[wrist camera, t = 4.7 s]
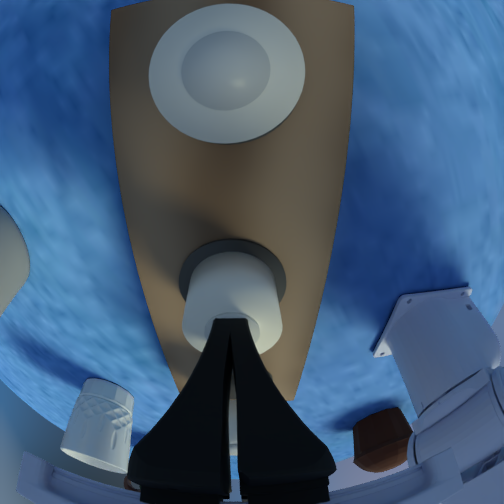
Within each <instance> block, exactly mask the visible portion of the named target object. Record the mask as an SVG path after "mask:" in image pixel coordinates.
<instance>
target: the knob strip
mask: <svg viewBox="0 0 504 504" xmlns="http://www.w3.org/2000/svg"><path fill="white" fill-rule="evenodd" d="M217 4H242V5H248V6H251V7H255V8H258V9H261V10H263V11H265V12H267V13H269V14H271V15H273V16H274V17H276V18H277V19H278V20H280V21H281V22H282V23H283V24H284V25H285V26H286V27H287V28H288V29H289V30H290V31H291V32H292V34H293V35H294V36H295V38H296V40H297V42H298V43H299V45H300V48H301V51H302V53H303V57H304V62H305V80H304V85H303V89H302V93H301V95H300V97H299V100H298V102H297V103H296V105H295V107H294V108H293V110H292V111H291V112H290V114H289V115H288V116H287V117H286V118H285V119H284V120H283V121H282V122H281V123H280V124H278V125H277V126H276V127H275V128H273V129H272V130H270V131H268V132H267V133H265V134H263V135H261V136H258V137H256V138H253V139H250V140H247V141H243V142H237V143H227V144H224V143H211V142H205V141H202V140H198V139H195V138H193V137H190V136H188V135H186V134H184V133H182V132H181V131H179V130H178V129H176V128H175V127H174V126H172V125H171V124H170V123H169V122H168V121H167V120H166V119H165V118H164V117H163V115H162V114H161V113H160V111H159V110H158V108H157V106H156V104H155V102H154V100H153V97H152V95H151V91H150V86H149V66H150V61H151V58H152V55H153V52H154V49H155V48H156V46H157V44H158V42H159V40H160V39H161V37H162V36H163V35H164V33H165V32H166V31H167V30H168V29H169V28H170V27H171V26H172V25H173V24H174V23H176V22H177V21H178V20H179V19H181V18H182V17H184V16H186V15H187V14H189V13H191V12H193V11H195V10H198V9H201V8H204V7H207V6H212V5H217ZM353 75H354V6H353V5H349V4H344V3H340V2H335V1H331V0H150V1H145V2H141V3H136V4H132V5H128V6H124V7H121V8H117V9H114V10H111V22H110V42H109V84H110V106H111V120H112V131H113V141H114V150H115V158H116V166H117V173H118V179H119V186H120V192H121V197H122V203H123V208H124V213H125V218H126V223H127V228H128V233H129V237H130V242H131V246H132V250H133V254H134V258H135V262H136V266H137V270H138V274H139V278H140V281H141V285H142V288H143V292H144V295H145V299H146V302H147V305H148V308H149V312H150V315H151V318H152V321H153V324H154V327H155V330H156V333H157V336H158V339H159V342H160V344H161V347H162V350H163V353H164V355H165V358H166V361H167V363H168V366H169V369H170V371H171V374H172V376H173V379H174V381H175V384H176V386H177V388H178V391H179V393H180V392H181V391H182V389H183V387H184V386H185V384H186V382H187V381H188V379H189V377H190V376H191V374H192V372H193V370H194V368H195V366H196V364H197V362H198V360H199V358H200V356H201V354H202V352H200V351H199V350H197V349H196V348H194V347H193V346H192V345H191V344H190V343H189V342H188V341H187V339H186V338H185V336H184V334H183V330H182V321H183V315H184V310H185V304H186V299H187V294H188V289H189V284H190V279H191V276H192V273H193V271H194V269H195V268H196V267H197V266H198V264H199V263H201V262H202V261H203V260H205V259H206V258H208V257H210V256H212V255H215V254H218V253H223V252H241V253H246V254H249V255H252V256H254V257H256V258H258V259H260V260H261V261H263V262H264V263H265V264H266V265H267V266H268V267H269V269H270V270H271V272H272V274H273V276H274V280H275V285H276V291H277V297H278V302H279V308H280V314H281V320H282V333H281V336H280V338H279V340H278V341H277V342H276V343H275V345H274V346H272V347H271V348H270V349H269V350H267V351H265V352H263V353H262V354H259V355H260V357H261V360H262V362H263V364H264V366H265V368H266V369H267V371H268V373H269V375H270V377H271V378H272V380H273V382H274V384H275V385H276V387H277V388H278V390H279V391H280V393H281V394H282V396H283V397H284V399H285V400H286V401H290V400H294V397H295V394H296V391H297V388H298V385H299V381H300V378H301V375H302V371H303V368H304V365H305V361H306V358H307V354H308V350H309V347H310V343H311V339H312V336H313V332H314V328H315V324H316V320H317V316H318V312H319V308H320V304H321V299H322V295H323V291H324V286H325V282H326V277H327V273H328V268H329V263H330V258H331V253H332V248H333V243H334V237H335V232H336V226H337V220H338V214H339V208H340V202H341V195H342V189H343V182H344V174H345V167H346V159H347V150H348V141H349V131H350V120H351V108H352V94H353ZM230 400H236V392H235V384H234V375H233V368H232V380H231V392H230Z"/></svg>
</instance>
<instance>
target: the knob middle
mask: <svg viewBox="0 0 504 504" xmlns="http://www.w3.org/2000/svg"><path fill="white" fill-rule="evenodd" d="M215 318H246V319H247V320H248V324H249V328H250V332H251V335H252V338H253V341H254V343H255V346H256V348H257V351H258V353H259V354H262V353H263V352H265V351H267V350H269V349H270V348H271V347H272V346H274V345H275V343H276V342H277V341H278V340H279V338H280V336H281V333H282V320H281V314H280V308H279V302H278V297H277V291H276V285H275V280H274V276H273V274H272V272H271V270H270V269H269V267H268V266H267V265H266V264H265V263H264V262H263V261H261V260H260V259H258V258H256V257H254V256H252V255H249V254H246V253H241V252H223V253H218V254H215V255H212V256H210V257H208V258H206V259H205V260H203V261H202V262H201V263H199V264H198V266H197V267H196V268H195V269H194V271H193V273H192V276H191V279H190V284H189V289H188V294H187V299H186V304H185V310H184V315H183V321H182V330H183V334H184V336H185V338H186V339H187V341H188V342H189V343H190V344H191V345H192V346H193V347H194V348H196V349H197V350H199V351H200V352H202V351H203V349H204V347H205V344H206V342H207V339H208V337H209V334H210V331H211V328H212V324H213V320H214V319H215Z"/></svg>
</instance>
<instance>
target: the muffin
mask: <svg viewBox="0 0 504 504" xmlns="http://www.w3.org/2000/svg"><path fill="white" fill-rule="evenodd" d="M412 433H413V431H412V429H411V427H410V425H409V423H408V422H407V420H406V418H405V416H404V414H403V413H402V411H401V410H400V409H399V408H398V407H396V408H391V409H385V410H383V411H380V412H378V413H375V414H372V415H369V416H368V417H366V418H365V419H363V420H361V421H359V422H357V424H356V425H355V426H354V427H353V438H354V462H353V463H355V464H356V465H357V466H358V467H360V468H361V469H363V470H365V471H369V472H375V473H376V472H384V471H387V470H390V469H392V468H395V467H397V466H399V465H401V464H402V463H404V462H405V461H406V460H407V449H408V442H409V439H410V436H411V435H412Z"/></svg>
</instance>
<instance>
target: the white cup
mask: <svg viewBox="0 0 504 504" xmlns="http://www.w3.org/2000/svg"><path fill="white" fill-rule="evenodd" d="M133 408H134V397H133V396H132V395H131V394H130V393H129V392H128V391H127V390H125V389H123V388H122V387H120V386H118V385H116V384H114V383H111V382H109V381H106V380H102V379H97V378H91V379H87V380H86V381H85V382H84V384H83V386H82V389H81V392H80V395H79V397H78V398H77V400H76V403H75V405H74V408H73V411H72V414H71V416H70V419H69V422H68V425H67V428H66V431H65V434H64V438H63V441H62V444H61V447H60V449H61V450H62V451H63V452H65V453H66V454H68V455H70V456H72V457H74V458H76V459H78V460H80V461H82V462H85V463H87V464H90V465H93V466H95V467H98V468H101V469H105V470H108V471H112V472H117V473H127V472H128V461H129V451H130V442H131V430H132V421H133V419H132V414H133Z"/></svg>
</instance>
